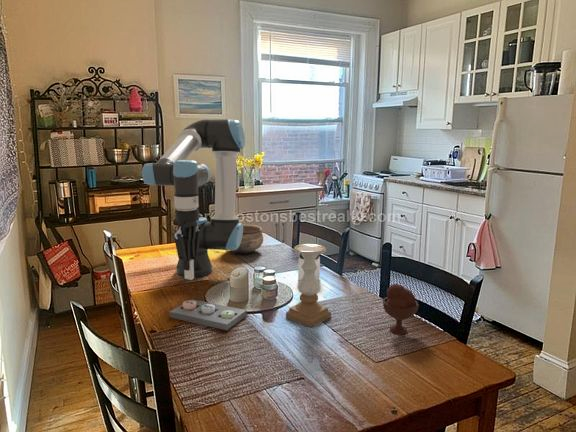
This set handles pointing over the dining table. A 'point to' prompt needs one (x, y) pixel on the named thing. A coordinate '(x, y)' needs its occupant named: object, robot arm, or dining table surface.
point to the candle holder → (309, 290)
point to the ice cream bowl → (399, 306)
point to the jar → (300, 270)
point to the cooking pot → (250, 239)
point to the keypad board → (205, 319)
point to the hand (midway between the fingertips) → (189, 278)
